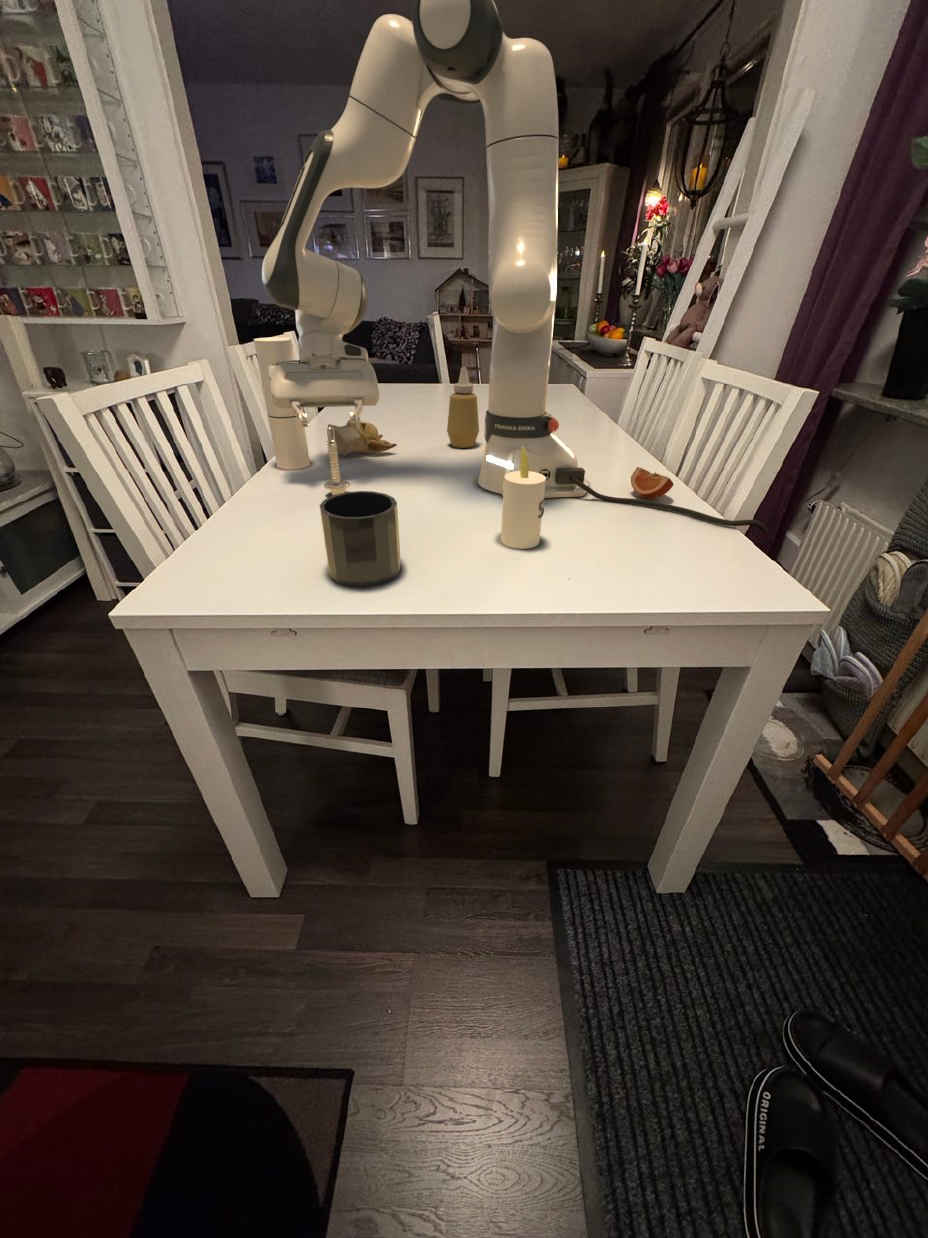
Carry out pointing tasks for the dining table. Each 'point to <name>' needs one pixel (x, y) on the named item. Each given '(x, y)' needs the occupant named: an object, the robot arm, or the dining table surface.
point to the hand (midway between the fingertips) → (329, 424)
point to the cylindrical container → (281, 420)
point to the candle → (522, 506)
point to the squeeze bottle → (463, 414)
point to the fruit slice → (650, 484)
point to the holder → (361, 537)
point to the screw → (334, 466)
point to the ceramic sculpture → (359, 438)
